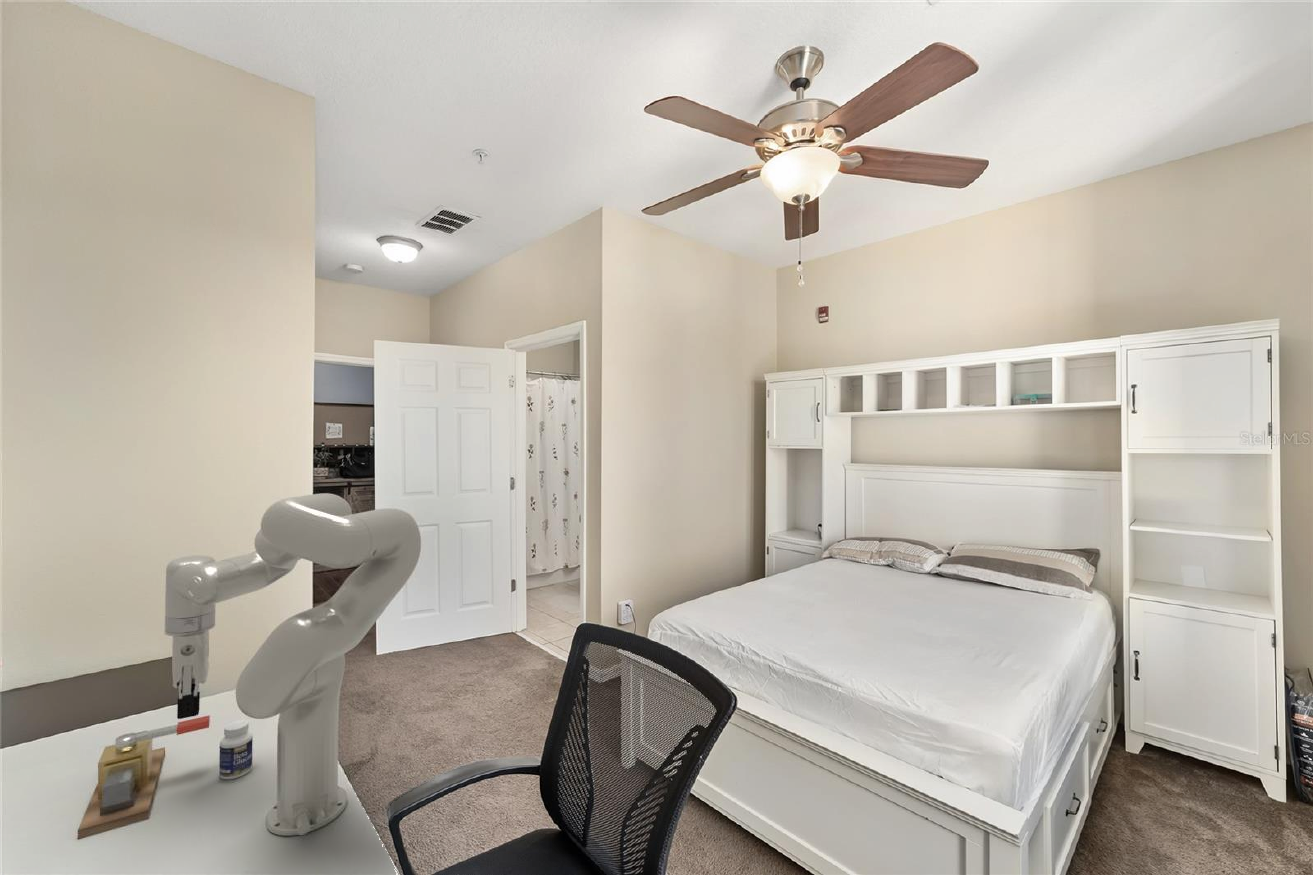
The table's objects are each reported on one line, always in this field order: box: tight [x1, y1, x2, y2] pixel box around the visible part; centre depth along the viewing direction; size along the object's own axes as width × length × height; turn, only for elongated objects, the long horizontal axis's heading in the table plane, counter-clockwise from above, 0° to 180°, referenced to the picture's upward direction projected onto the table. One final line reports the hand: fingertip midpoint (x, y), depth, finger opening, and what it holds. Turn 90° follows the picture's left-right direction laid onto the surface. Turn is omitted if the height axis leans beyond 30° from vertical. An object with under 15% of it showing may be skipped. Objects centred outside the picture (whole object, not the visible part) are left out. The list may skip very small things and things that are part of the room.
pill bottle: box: [218, 719, 254, 780], centre depth 115 cm, size 5×5×10 cm
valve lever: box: [115, 714, 211, 752], centre depth 111 cm, size 14×3×2 cm, turn 126°
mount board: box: [77, 746, 166, 840], centre depth 108 cm, size 24×9×2 cm, turn 36°
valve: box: [97, 730, 153, 816], centre depth 108 cm, size 20×7×7 cm, turn 36°
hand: (188, 715), depth 109 cm, fingers closed
